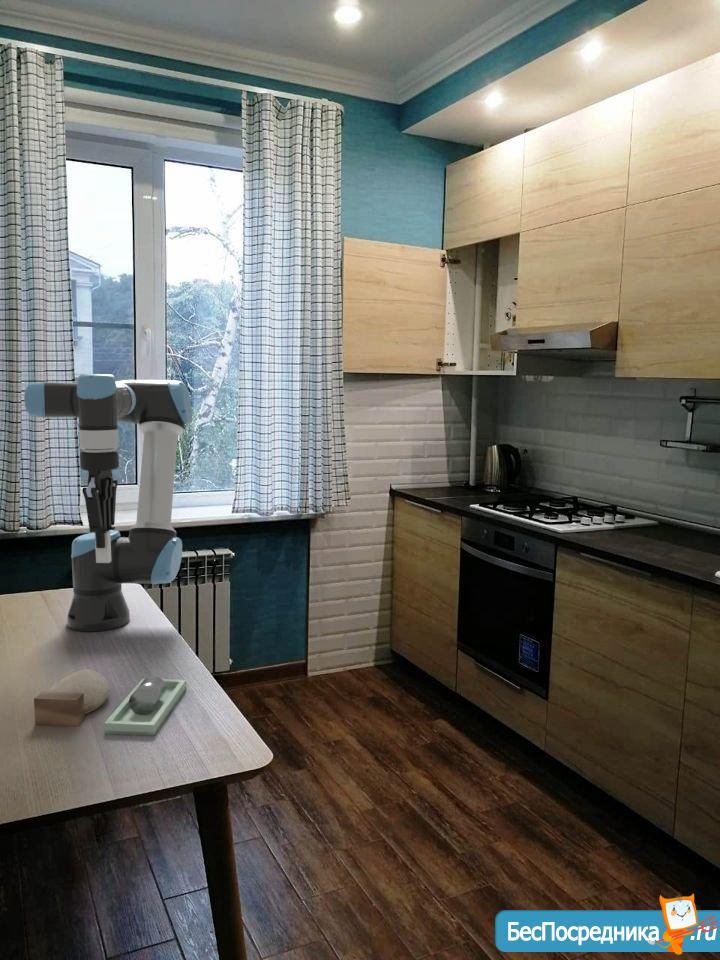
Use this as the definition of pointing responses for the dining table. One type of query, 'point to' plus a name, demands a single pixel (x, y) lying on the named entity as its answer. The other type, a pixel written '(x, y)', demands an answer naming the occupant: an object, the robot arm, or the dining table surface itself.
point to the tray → (149, 723)
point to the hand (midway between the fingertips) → (103, 561)
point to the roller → (147, 695)
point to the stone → (85, 688)
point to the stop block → (59, 708)
